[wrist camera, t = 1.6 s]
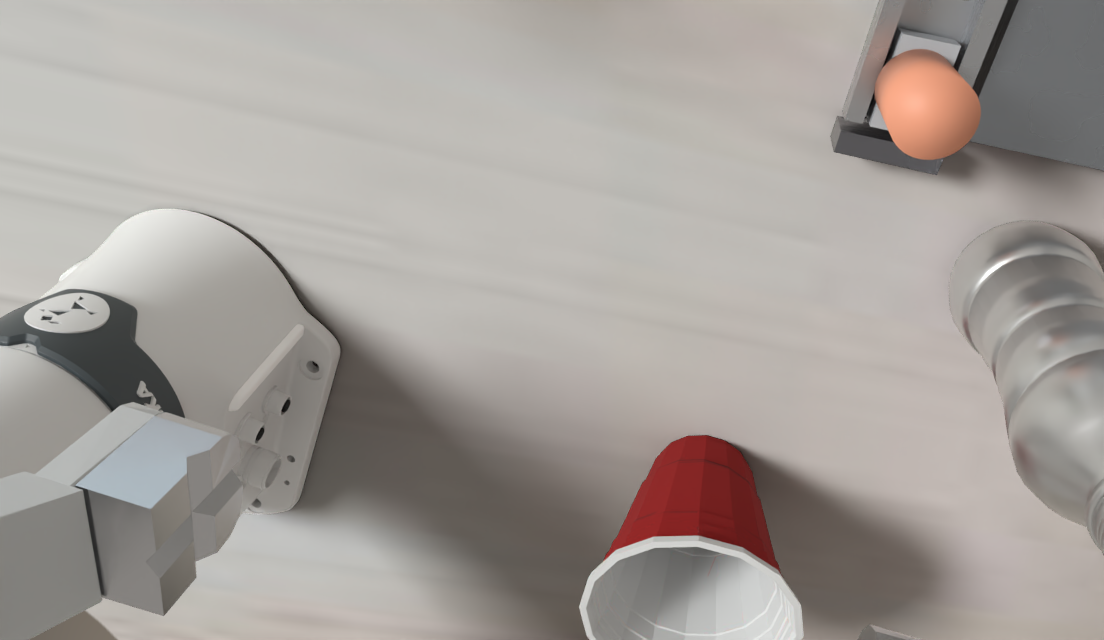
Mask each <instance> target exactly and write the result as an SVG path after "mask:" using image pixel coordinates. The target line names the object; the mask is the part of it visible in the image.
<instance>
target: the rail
mask: <svg viewBox="0 0 1104 640" xmlns="http://www.w3.org/2000/svg"><path fill="white" fill-rule="evenodd" d="M1007 1H1008V0H879V2H878V5H877V8H876V11H875V14H874V17H873V20H872V23H871V26H870V29H869V32H868V35H867V38H866V41H865V44H864V47H863V50H862V53H861V56H860V59H859V62H858V65H857V68H856V71H855V74H854V77H853V80H852V83H851V86H850V89H849V92H848V95H847V98H846V101H845V104H844V107H843V110H842V112H843V116H844V117H839V116H837V118H836V121H835V124H834V127H833V130H832V133H831V136H830V137H831V141H832V146H833V150H834V152H836V153H841V154H845V155H850V156H854V157H858V158H863V159H867V160H872V161H876V162H881V163H885V164H890V165H894V166H899V167H903V168H908V169H912V170H917V171H921V172H926V173H930V174H935V175H937V173H938V171H939V169H940V166H941V164H942V161H943V159H944V158H940V159H934V160H923V159H917V158H914V157H911V156H909V155H907V154H905V153H904V152H903V151H901V150H900V149H899V148H898V147H897V146H896V144H895V143H894V141H893V140H892V137H891V135H890V133H889V131H888V130H884V129H879V128H875V127H870V125H869V123H867V122H864V119H865V116H868V113H869V110H870V107H871V104H872V102H873V99H874V96H875V83H876V80H877V77H878V75H879V73H880V71H881V70H882V68H883V67H884V66H885V64H886V62H887V59H888V56H889V53H890V50H891V47H892V44H893V42H894V39H895V36H896V33H897V30H898V28H900V29H905V30H910V31H915V32H920V33H925V34H929V35H934V36H939V37H944V38H949V39H954V40H955V41H957V42H958V43H959V44H960V45H961V48H960V50H959V53H958V56H957V58H956V61H955V63H954V66H953V67H954V69H955V70H956V71H957V72H958V73H959V74H960V75H961V76H962V77H963V79H964V80H965V81H966V82H967V83H968V84H969V85H970V86H971V88H972V87H973V85H974V82H975V80H976V77H977V75H978V72H979V70H980V67H981V65H982V62H983V60H984V58H985V55H986V53H987V50H988V48H989V45H990V43H991V40H992V38H993V35H994V33H995V30H996V28H997V25H998V23H999V21H1000V18H1001V16H1002V13H1003V11H1004V8H1005V6H1006V3H1007Z"/></svg>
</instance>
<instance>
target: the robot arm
mask: <svg viewBox="0 0 1104 640" xmlns="http://www.w3.org/2000/svg"><path fill="white" fill-rule="evenodd" d="M339 358H340V346H339V343H338V342H337V340H336V339H335V337H334V336H333V335H332V334H331V333H330V332H329V331H328V330H327V329H326V328H325V327H324V326H323V325H322V324H321V323H320V322H319V321H317V320H316V319H315V318H314V317H313V316H312V315H310V314H309V313H308V312H307V311H306V310H305V308H304V307H303V306H302V304H301V303H300V301H299V300H298V298H297V297H296V295H295V293H294V292H293V290H292V288H291V286H290V285H289V283H288V281H287V280H286V278H285V277H284V275H283V274H282V273H281V271H280V270H279V269H278V267H277V266H276V265H275V264H274V263H273V261H272V260H271V259H270V258H269V257H268V256H267V255H266V254H265V253H264V252H263V251H262V250H261V249H260V248H259V247H258V246H257V245H255V244H254V243H253V242H252V241H251V240H249V239H248V238H247V237H245V236H244V235H243V234H241V233H240V232H238V231H237V230H235V229H233V228H232V227H230V226H228V225H226V224H224V223H222V222H220V221H218V220H216V219H214V218H211V217H209V216H206V215H203V214H200V213H196V212H192V211H187V210H180V209H156V210H150V211H146V212H142V213H140V214H137V215H135V216H133V217H131V218H129V219H127V220H126V221H124V222H123V223H122V224H120V225H119V226H118V227H117V228H116V229H115V230H114V231H113V232H112V234H111V235H110V236H109V237H108V238H107V239H106V241H105V242H104V243H103V244H102V245H101V246H100V247H99V248H98V249H97V250H96V251H95V252H94V253H93V254H92V255H91V256H89V257H88V258H87V259H85V260H83V261H81V262H79V263H77V264H75V265H73V266H72V267H71V268H69V269H68V270H67V271H66V272H64V273H63V274H62V275H61V277H60V279H59V283H58V284H56V285H55V286H54V287H53V288H51V289H50V290H49V291H48V292H47V293H45V294H44V295H43V296H42V297H40V298H39V299H38V300H37V301H35V302H32V303H30V304H28V305H25V306H23V307H21V308H18V309H16V310H14V311H12V312H10V313H8V314H6V315H5V316H3V317H1V318H0V640H29V639H31V638H33V637H35V636H37V635H38V634H40V633H42V632H44V631H46V630H48V629H50V628H52V627H54V626H56V625H58V624H59V623H62V622H63V621H65V620H67V619H69V618H71V617H73V616H75V615H77V614H79V613H81V612H82V611H84V610H86V609H88V608H90V607H92V606H94V605H96V604H98V603H100V602H101V601H102V597H103V598H106V599H109V600H113V601H116V602H119V603H123V604H126V605H129V606H132V607H136V608H139V609H142V610H146V611H149V612H152V613H155V614H159V615H162V616H164V615H165V614H166V613H167V612H168V611H169V609H170V608H171V607H172V606H173V605H174V603H175V602H176V601H177V600H178V599H179V597H180V596H181V595H182V594H183V593H184V591H185V590H186V589H187V588H188V587H189V586H190V584H191V583H192V582H193V581H194V580H195V578H196V561H198V560H200V559H203V558H205V557H207V556H210V555H212V554H215V553H217V552H218V551H219V549H220V548H221V547H222V546H223V544H224V543H225V542H226V541H227V539H228V538H229V537H230V535H231V533H232V531H233V529H234V527H235V525H236V522H237V520H238V518H239V517H240V515H241V514H242V513H247V514H275V513H280V512H285V511H288V510H290V509H291V508H292V507H293V506H294V505H295V504H296V503H297V502H298V500H299V498H300V496H301V493H302V489H303V486H304V482H305V479H306V475H307V472H308V468H309V465H310V461H311V457H312V454H313V450H314V447H315V443H316V440H317V436H318V433H319V429H320V425H321V422H322V418H323V415H324V411H325V408H326V404H327V400H328V397H329V393H330V390H331V386H332V383H333V379H334V376H335V372H336V368H337V365H338V361H339ZM312 361H313V362H315V363H317V364H318V366H319V367H317V366H315V365H314V364H313V363H312ZM858 640H923V639H919V638H916V637H913V636H909V635H906V634H902V633H899V632H895V631H892V630H888V629H885V628H881V627H878V626H875V625H871V624H869V625H868V626H867V627H865V628H864V629H863V630H862V632H861V634H860V636H859V638H858Z"/></svg>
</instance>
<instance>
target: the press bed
mask: <svg viewBox="0 0 1104 640" xmlns="http://www.w3.org/2000/svg"><path fill="white" fill-rule="evenodd" d="M972 89H973V90H974V91H975V93H976V94H977V97H978V99H979V102H980V107H981V117H980V122H979V125H978V128H977V130H976V132H975V134H974V135H973V137H972V138H971V139H970V141H971V142H975V143H980V144H984V145H989V146H993V147H998V148H1003V149H1007V150H1012V151H1016V152H1021V153H1026V154H1030V155H1035V156H1039V157H1044V158H1049V159H1053V160H1058V161H1062V162H1067V163H1071V164H1076V165H1081V166H1085V167H1090V168H1094V169H1099V170H1104V0H1008V2H1007V4H1006V7H1005V9H1004V12H1003V14H1002V16H1001V19H1000V21H999V24H998V26H997V29H996V31H995V34H994V36H993V39H992V41H991V44H990V46H989V49H988V51H987V53H986V56H985V58H984V61H983V63H982V66H981V68H980V71H979V73H978V76H977V78H976V81H975V83H974V86H973V88H972Z"/></svg>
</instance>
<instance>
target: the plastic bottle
mask: <svg viewBox="0 0 1104 640" xmlns="http://www.w3.org/2000/svg"><path fill="white" fill-rule="evenodd" d="M949 305H950V312H951V315H952V318H953V321H954V323H955V325H956V326H957V328H958V330H959V331H960V333H961V334H962V335H963V337H964V338H965V339H966V341H967V342H968V343H969V344H970V345H971V346H972V347H973V348H974V349H975V350H976V351H977V352H978V353H979V354H980V355H981V356H982V358H983V360H984V361H985V363H986V364H987V366H988V367H989V369H990V370H991V372H992V374H993V375H994V378H995V381H996V384H997V387H998V390H999V393H1000V396H1001V399H1002V402H1003V407H1004V414H1005V420H1006V427H1007V433H1008V439H1009V446H1010V449H1011V453H1012V456H1013V460H1014V463H1015V466H1016V470H1017V472H1018V474H1019V476H1020V477H1021V479H1022V481H1023V482H1024V484H1025V485H1026V486H1027V488H1028V489H1029V490H1030V491H1031V492H1032V493H1033V494H1034V495H1035V496H1036V497H1037V498H1038V499H1039V500H1041V501H1042V502H1043V503H1044V504H1045V505H1046V506H1047V507H1048V508H1049V509H1051V510H1052V511H1054V512H1055V513H1057V514H1058V515H1060V516H1061V517H1063V518H1066V519H1068V520H1070V521H1073V522H1075V523H1077V524H1080V525H1082V526H1085V527H1087V529H1088V531H1089V534H1090V536H1091V538H1092V539H1093V541H1094V543H1095V544H1096V546H1097V547H1098V548H1099V549H1100V550H1101V551H1102V553H1103V555H1104V272H1103V270H1102V268H1101V266H1100V264H1099V262H1098V260H1097V258H1096V256H1095V254H1094V253H1093V252H1092V250H1091V249H1090V248H1089V247H1088V246H1087V245H1086V244H1085V243H1084V242H1083V241H1081V240H1080V239H1078V238H1077V237H1075V236H1074V235H1072V234H1070V233H1069V232H1067V231H1065V230H1063V229H1061V228H1059V227H1056V226H1054V225H1052V224H1048V223H1044V222H1039V221H1017V222H1011V223H1006V224H1003V225H1000V226H997V227H994V228H992V229H990V230H989V231H987V232H985V233H983V234H981V235H980V236H979V237H977V238H976V239H975V240H973V241H972V242H971V243H970V244H969V245H968V246H967V247H966V248H965V249H964V250H963V251H962V253H961V254H960V256H959V257H958V259H957V260H956V262H955V264H954V267H953V269H952V272H951V275H950V282H949Z"/></svg>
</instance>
